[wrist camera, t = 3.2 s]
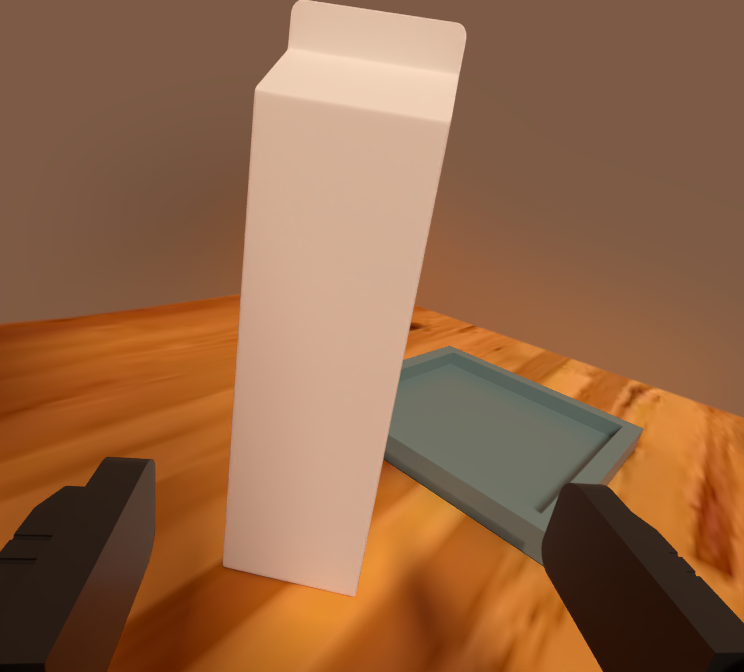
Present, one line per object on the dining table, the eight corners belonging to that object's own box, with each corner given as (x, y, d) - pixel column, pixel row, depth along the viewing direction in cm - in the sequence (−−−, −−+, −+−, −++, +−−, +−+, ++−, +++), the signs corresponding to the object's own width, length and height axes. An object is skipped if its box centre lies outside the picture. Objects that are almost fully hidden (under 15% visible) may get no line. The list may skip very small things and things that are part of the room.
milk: (266, 484, 26) (312, 26, 19) (374, 507, 25) (463, 49, 18) (219, 571, 20) (258, -42, 13) (357, 602, 20) (478, -11, 12)
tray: (310, 409, 34) (313, 387, 33) (445, 362, 47) (449, 345, 47) (544, 566, 23) (554, 538, 23) (635, 448, 37) (643, 428, 36)
